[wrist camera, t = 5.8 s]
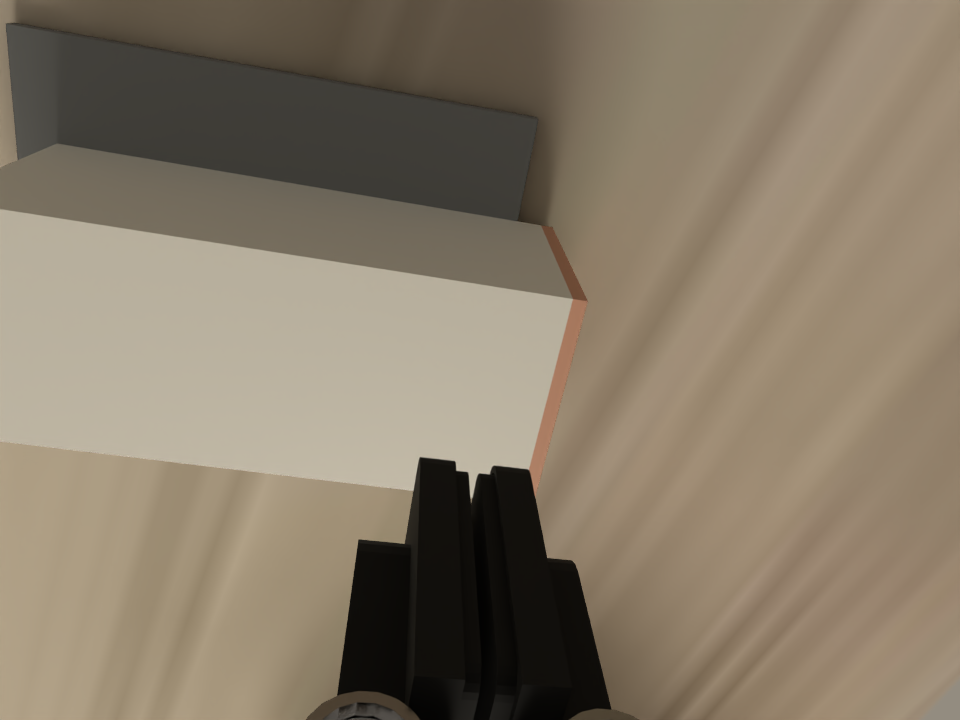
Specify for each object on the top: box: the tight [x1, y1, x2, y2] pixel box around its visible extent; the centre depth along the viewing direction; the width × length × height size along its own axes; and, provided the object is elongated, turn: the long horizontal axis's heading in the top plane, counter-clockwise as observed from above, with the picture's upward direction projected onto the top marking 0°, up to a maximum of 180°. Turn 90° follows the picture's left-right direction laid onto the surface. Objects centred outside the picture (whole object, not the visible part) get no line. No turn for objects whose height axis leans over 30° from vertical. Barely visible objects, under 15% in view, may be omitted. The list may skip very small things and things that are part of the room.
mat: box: [6, 23, 538, 221], centre depth 20 cm, size 10×12×1 cm
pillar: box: [0, 144, 588, 498], centre depth 17 cm, size 5×5×12 cm
